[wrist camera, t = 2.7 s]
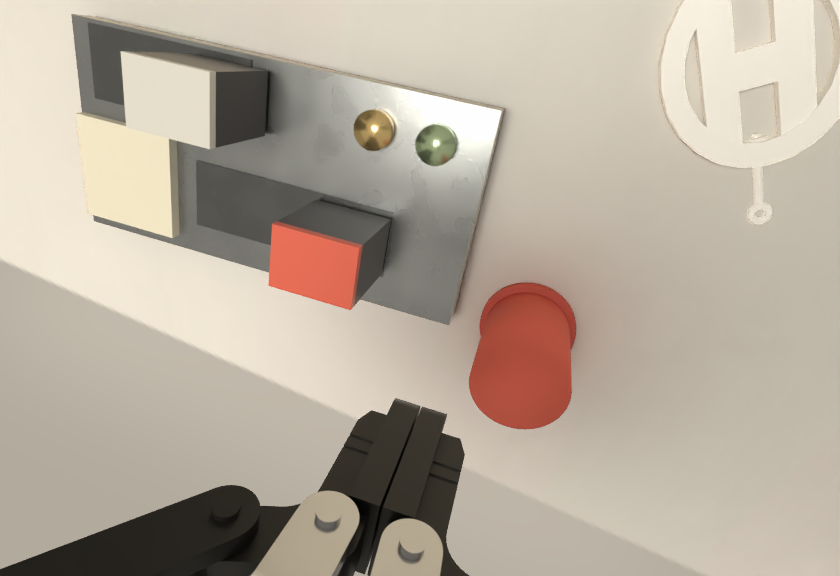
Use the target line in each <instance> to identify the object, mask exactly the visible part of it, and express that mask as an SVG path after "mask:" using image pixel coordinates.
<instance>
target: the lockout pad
mask: <svg viewBox="0 0 840 576" xmlns="http://www.w3.org/2000/svg"><path fill="white" fill-rule="evenodd" d="M76 119H77V128H78V137H79V146H80V154H81V163H82V172H83V181H84V189H85V198H86V207H87V213H88V214H91V215H95V216H98V217H102V218H105V219H109V220H112V221H115V222H119V223H122V224H126V225H129V226H132V227H136V228H139V229H143V230H146V231H150V232H153V233H156V234H160V235H163V236H167V237H170V238H174V237H176V236H178V235H180V230H179V196H178V162H177V141H176V140H172V139H168V138H164V137H161V136H157V135H153V134H149V133H145V132H141V131H137V130H134V129H130V128H126V123H125V122H121V121H117V120H113V119H109V118H105V117H101V116H98V115H94V114H90V113H86V112H84V113H76Z"/></svg>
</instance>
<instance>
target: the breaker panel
mask: <svg viewBox="0 0 840 576" xmlns="http://www.w3.org/2000/svg"><path fill="white" fill-rule="evenodd" d="M72 23H73V32H74V41H75V51H76V60H77V69H78V78H79V87H80V97H81V106H82V113H84V112H86V113H90V114H94V115H98V116H101V117H105V118H109V119H113V120H117V121H121V122H125V123H126V119H125V105H124V91H123V77H122V64H121V51H131V52H163V53H192V54H197V55H201V56H205V57H210V58H214V59H219V60H223V61H227V62H232V63H236V64H240V65H245V66H249V67H253V68H258V69H262V70H266V71H268V80H267V102H266V123H265V136H263V137H259V138H254V139H250V140H246V141H242V142H238V143H234V144H229V145H225V146H221V147H217V148H213V149H207V148H203V147H199V146H195V145H191V144H188V143H184V142H180V141H177V162H178V196H179V230H180V235H178V236H176V237H174V238H170V237H167V236H163V235H160V234H156V233H153V232H150V231H146V230H143V229H139V228H136V227H132V226H129V225H126V224H122V223H119V222H115V221H112V220H109V219H105V218H102V217H98V216H95V215H93V216H94V221H96V222H99V223H103V224H106V225H110V226H113V227H116V228H120V229H123V230H127V231H130V232H133V233H137V234H140V235H144V236H147V237H150V238H154V239H157V240H161V241H164V242H167V243H171V244H174V245H178V246H181V247H184V248H188V249H191V250H195V251H198V252H201V253H205V254H208V255H212V256H215V257H218V258H222V259H225V260H229V261H232V262H235V263H239V264H242V265H246V266H249V267H252V268H256V269H259V270H263V271H266V272H269V269H270V252H271V234H272V224H273V223H275V222H276V221H278V220H280V219H282V218H284V217H286V216H287V215H289V214H291V213H293V212H295V211H296V210H298V209H300V208H302V207H304V206H306V205H307V204H309V203H311V202H313V201H315V200H320V201H324V202H327V203H331V204H335V205H339V206H342V207H346V208H350V209H354V210H357V211H361V212H365V213H369V214H372V215H376V216H380V217H384V218H387V219H391V223H390V228H389V234H388V240H387V246H386V252H385V258H384V264H383V270H382V274H381V275H380V276H379V278H378V279H377V280H376V281H375V282H374V283H373V285H372V286H371V287H370V288H369V289H368V290H367V292H366V293H365V294H364V295H363V296H362V297H361V300H365V301H368V302H371V303H375V304H378V305H382V306H385V307H388V308H392V309H395V310H399V311H402V312H406V313H409V314H412V315H416V316H419V317H423V318H426V319H429V320H433V321H436V322H440V323H443V324H446V325H449V324H450V322H451V319H452V317H453V315H454V312H455V308H456V304H457V300H458V296H459V292H460V288H461V284H462V280H463V276H464V272H465V268H466V263H467V259H468V255H469V251H470V247H471V243H472V239H473V235H474V231H475V227H476V223H477V219H478V215H479V211H480V207H481V203H482V199H483V195H484V191H485V187H486V183H487V179H488V175H489V171H490V167H491V163H492V159H493V155H494V151H495V147H496V143H497V139H498V135H499V130H500V126H501V122H502V118H503V114H504V110H505V108H501V107H496V106H492V105H487V104H483V103H478V102H474V101H469V100H465V99H461V98H456V97H452V96H447V95H443V94H438V93H434V92H429V91H425V90H420V89H416V88H411V87H407V86H403V85H398V84H394V83H389V82H385V81H380V80H376V79H371V78H367V77H362V76H358V75H354V74H349V73H345V72H340V71H336V70H331V69H327V68H322V67H318V66H313V65H309V64H305V63H300V62H296V61H291V60H287V59H282V58H278V57H273V56H269V55H264V54H260V53H256V52H251V51H247V50H242V49H238V48H233V47H229V46H224V45H220V44H215V43H211V42H207V41H202V40H198V39H193V38H189V37H184V36H180V35H175V34H171V33H166V32H162V31H158V30H153V29H149V28H144V27H140V26H135V25H131V24H126V23H122V22H117V21H113V20H109V19H104V18H100V17H94V16H84V15H75V14H72Z"/></svg>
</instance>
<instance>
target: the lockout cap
mask: <svg viewBox="0 0 840 576" xmlns="http://www.w3.org/2000/svg"><path fill="white" fill-rule="evenodd" d="M480 334H481V339H480V342H479V346H478V349H477V352H476V356H475V359H474V362H473V366H472V369H471V373H470V377H469V388H470V392H471V395H472V398H473V400H474V402H475V403H476V405H477V406H478V408H479V409H480V410H481V411H482V412H483V413H484V414H485V415H486V416H487V417H489V418H490V419H492V420H493V421H495V422H497V423H499V424H501V425H504V426H507V427H511V428H516V429H534V428H539V427H542V426H545V425H548V424H550V423H552V422H553V421H555V420H556V419H558V418H559V417H560V416H561V415H562V414H563V413H564V411H565V410H566V409H567V407H568V405H569V402H570V399H571V393H572V391H571V357H570V350H571V348H572V346H573V344H574V340H575V335H576V325H575V317H574V314H573V311H572V309H571V307H570V305H569V304H568V303H567V301H566V300H565V299H564V298H563V297H562V296H561V295H560V294H559V293H557V292H556V291H554V290H553V289H551V288H549V287H546V286H543V285H540V284H536V283H517V284H512V285H509V286H507V287H504V288H502V289H501V290H499V291H498V292H496V293H495V294H494V295H493V296H492V297H491V298H490V299H489V300H488V302H487V303H486V305H485V307H484V310H483V313H482V316H481V320H480Z"/></svg>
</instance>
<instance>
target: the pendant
mask: <svg viewBox="0 0 840 576" xmlns="http://www.w3.org/2000/svg"><path fill="white" fill-rule="evenodd" d="M822 1H823V3H824V5H825V7H826V9H827V11H828V13H829V15H830V17H831V20H832V26H833V33H834V39H835V43H834V53H833V63H832V66H831V69H830V72H829V75H828V78H827V80H826V83H825V86H824V87H823V89H822V91H821V92H820V94H819V95H818V97H817V86H816V59H815V31H814V3H813V0H769V9H770V25H771V42H769V43H766V44H762V45H759V46H756V47H752V48H749V49H745V50H742V51H739V52H735V40H734V28H733V16H732V5H731V0H683V1H682V2H681V3H680V5H679V6H678V7H677V10H676V12H675V14H674V16H673V18H672V21H671V23H670V25H669V27H668V29H667V32H666V34H665V37H664V41H663V46H662V51H661V55H660V60H659V92H660V96H661V100H662V104H663V108H664V111H665V115H666V117H667V119H668V120H669V122H670V124H671V126H672V127H673V129H674V131H675V133H676V134H677V136H678V137H679V138H680V139H681V140H682V141H683V142H684V143H685V144H686V145H688V146H689V147H690V148H691V149H692V150H693V151H694V152H695V153H697V154H699V155H701V156H703V157H705V158H707V159H709V160H711V161H712V162H714V163H716V164H720V165H725V166H730V167H736V168H741V169H742V168H752V171H753V193H754V204H753V205H752V206H751V207H749V209H748V210H747V212H746V218H747V220H748V221H749V222H750V223H751V224H754V225H761V224H764V223H766V222H767V221H769V220H770V218H771V217H772V215H773V209H772V207H771V206H770V205H769V204H768V203H765V202H764V193H763V169H762V167H763V166H769V165H772V164H774V163H777V162H780V161H783V160H786V159H789V158H791V157H793V156H795V155H797V154H798V153H800V152H801V151H803V150H804V149H806V148H808V147H809V146H811V145H812V144H814V143H815V142H817V141H818V140H819V139H820V138H821V137H822V136H823V135H824V134H825V133H826V132H827V131H828V130H829V129H830V128H831V127H832V126H833V125H834V124H835V123H836V122H837V121H838V120H839V118H840V0H822ZM693 34H694V35H695V45H696V54H697V64H698V73H699V82H700V92H701V101H702V111H703V120H704V125H703V124H702V123H701V122H700V121H699V120H698V118H697V116H696V114H695V113H694V111H693V109H692V107H691V105H690V104H689V100H688V96H687V91H686V87H685V61H686V56H687V52H688V48H689V44H690V40H691V38H692V36H693ZM770 83H774V91H775V107H776V124H777V134H775V135H772V136H770V137H767V136H761V135H760V134H759V133H758V134H753V135H752V137H751V139H747V140H746V141H745V142H743V136H742V124H741V112H740V100H739V92H740V91H744V90H747V89H751V88H755V87H759V86H762V85H766V84H770ZM758 210H762V211H763V212H764V214H763V216H761V217H756V215H755V213H756V212H757V211H758Z"/></svg>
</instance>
